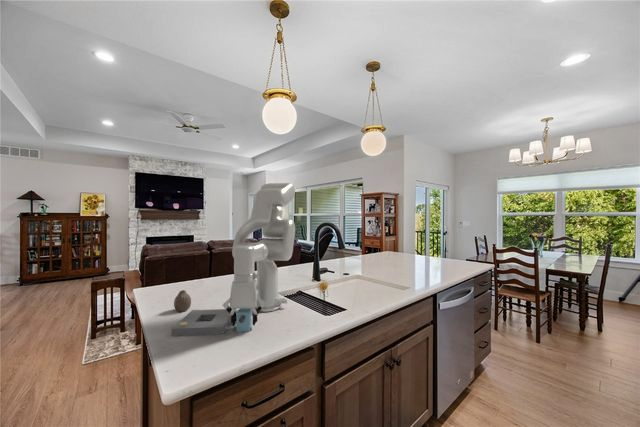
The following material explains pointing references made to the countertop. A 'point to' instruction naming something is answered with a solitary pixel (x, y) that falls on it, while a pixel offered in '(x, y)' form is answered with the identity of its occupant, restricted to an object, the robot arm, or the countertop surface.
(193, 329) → the socket plate
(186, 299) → the brown egg-shaped lump
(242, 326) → the plug
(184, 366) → the countertop surface
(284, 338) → the countertop surface
